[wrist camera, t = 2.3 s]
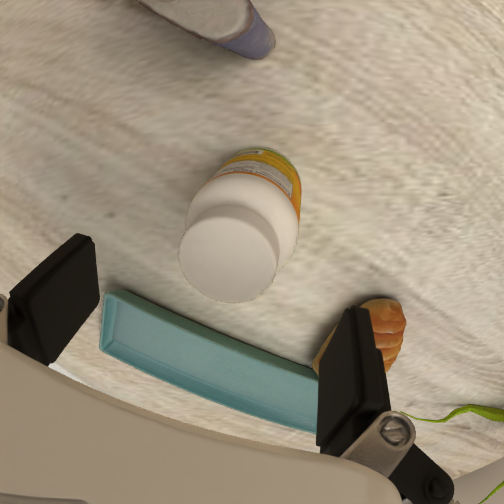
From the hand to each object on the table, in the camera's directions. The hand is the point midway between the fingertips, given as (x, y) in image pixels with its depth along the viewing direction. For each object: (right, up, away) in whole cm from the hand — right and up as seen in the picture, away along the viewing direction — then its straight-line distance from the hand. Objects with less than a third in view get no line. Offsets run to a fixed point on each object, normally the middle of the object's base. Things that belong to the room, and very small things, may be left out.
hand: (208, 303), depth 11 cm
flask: (-1, +17, +4) cm, 17 cm away
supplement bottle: (+2, +6, +10) cm, 12 cm away
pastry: (+11, -6, +15) cm, 19 cm away
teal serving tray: (0, -9, +19) cm, 21 cm away
